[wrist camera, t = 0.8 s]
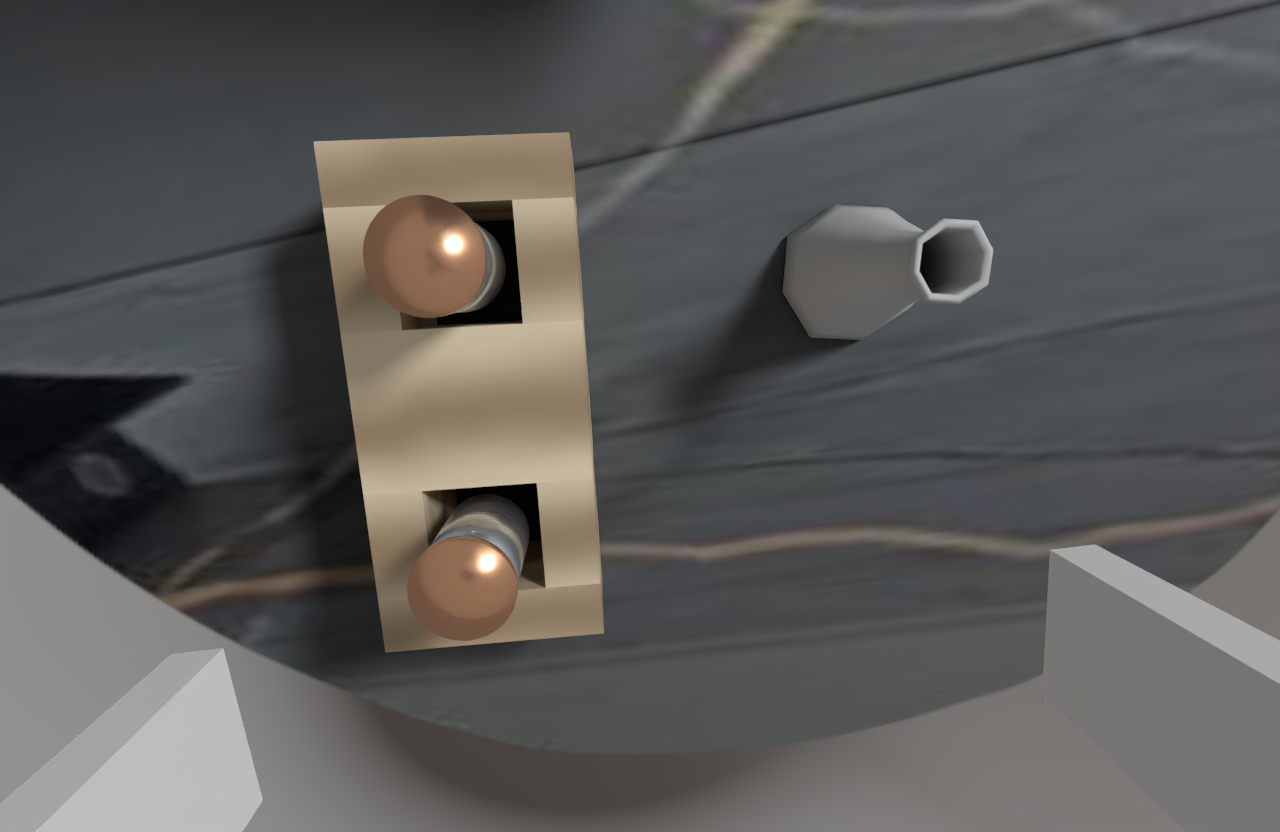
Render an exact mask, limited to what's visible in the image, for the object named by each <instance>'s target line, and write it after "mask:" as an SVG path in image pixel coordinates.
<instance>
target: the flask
mask: <svg viewBox="0 0 1280 832" xmlns="http://www.w3.org/2000/svg"><path fill="white" fill-rule="evenodd" d="M992 255H993V249H992V247H991V245H990V243H989V241H988V239H987V237H986V235H985V233H984V231H983V229H982V228H981V226H980V224H979V222H978V221H974V220H958V219H941V220H940V221H939V222H937V223H936V224H934V225H933V226H931V227H930V228H928V229H927V230H925V231H923V230H921V229H919V228H917V227H916V226H914V225H912V224H910V223H909V222H907V221H905V220H904V219H903V218H901V217H900V216H899V215H897V214H896V213H895V212H893V211H892V210H890V209H889V208H883V207H868V206H853V205H838V204H833V205H832V206H831V207H829V208H828V209H826V210H825V211H823V212H822V213H820V214H819V215H817V216H816V217H814V218H813V219H812V220H810V221H809V222H807V223H806V224H804V225H803V226H801V227H800V228H798V229H797V230H795V231H794V232H793V233H791V234H790V235H788V236H787V247H786V258H785V270H784V281H783V294H784V296H785V297H786V299H787V301H788V302H789V304H790V306H791V307H792V309H793V310H794V312H795V314H796V315H797V317H798V319H799V320H800V322H801V324H802V325H803V327H804V329H805V330H806V332H807V333H808V335H809V337H810V338H828V339H849V340H863V339H864V338H866V337H867V336H869V335H870V334H872V333H873V332H875V331H876V330H878V329H879V328H880V327H882V326H883V325H885V324H886V323H888V322H889V321H891V320H892V319H894V318H895V317H897V316H898V315H900V314H901V313H903V312H904V311H906V310H907V309H908V308H910V307H911V306H912V305H913V304H914V303H915V302H917V301H920V300H922V301H924V302H934V303H953V304H959V303H961V302H963V301H964V300H966V299H967V298H969V297H970V296H972V295H973V294H975V293H976V292H978V291H979V290H981V289H982V288H984V287H985V286H987V285H988V283H989V276H990V269H991V262H992Z"/></svg>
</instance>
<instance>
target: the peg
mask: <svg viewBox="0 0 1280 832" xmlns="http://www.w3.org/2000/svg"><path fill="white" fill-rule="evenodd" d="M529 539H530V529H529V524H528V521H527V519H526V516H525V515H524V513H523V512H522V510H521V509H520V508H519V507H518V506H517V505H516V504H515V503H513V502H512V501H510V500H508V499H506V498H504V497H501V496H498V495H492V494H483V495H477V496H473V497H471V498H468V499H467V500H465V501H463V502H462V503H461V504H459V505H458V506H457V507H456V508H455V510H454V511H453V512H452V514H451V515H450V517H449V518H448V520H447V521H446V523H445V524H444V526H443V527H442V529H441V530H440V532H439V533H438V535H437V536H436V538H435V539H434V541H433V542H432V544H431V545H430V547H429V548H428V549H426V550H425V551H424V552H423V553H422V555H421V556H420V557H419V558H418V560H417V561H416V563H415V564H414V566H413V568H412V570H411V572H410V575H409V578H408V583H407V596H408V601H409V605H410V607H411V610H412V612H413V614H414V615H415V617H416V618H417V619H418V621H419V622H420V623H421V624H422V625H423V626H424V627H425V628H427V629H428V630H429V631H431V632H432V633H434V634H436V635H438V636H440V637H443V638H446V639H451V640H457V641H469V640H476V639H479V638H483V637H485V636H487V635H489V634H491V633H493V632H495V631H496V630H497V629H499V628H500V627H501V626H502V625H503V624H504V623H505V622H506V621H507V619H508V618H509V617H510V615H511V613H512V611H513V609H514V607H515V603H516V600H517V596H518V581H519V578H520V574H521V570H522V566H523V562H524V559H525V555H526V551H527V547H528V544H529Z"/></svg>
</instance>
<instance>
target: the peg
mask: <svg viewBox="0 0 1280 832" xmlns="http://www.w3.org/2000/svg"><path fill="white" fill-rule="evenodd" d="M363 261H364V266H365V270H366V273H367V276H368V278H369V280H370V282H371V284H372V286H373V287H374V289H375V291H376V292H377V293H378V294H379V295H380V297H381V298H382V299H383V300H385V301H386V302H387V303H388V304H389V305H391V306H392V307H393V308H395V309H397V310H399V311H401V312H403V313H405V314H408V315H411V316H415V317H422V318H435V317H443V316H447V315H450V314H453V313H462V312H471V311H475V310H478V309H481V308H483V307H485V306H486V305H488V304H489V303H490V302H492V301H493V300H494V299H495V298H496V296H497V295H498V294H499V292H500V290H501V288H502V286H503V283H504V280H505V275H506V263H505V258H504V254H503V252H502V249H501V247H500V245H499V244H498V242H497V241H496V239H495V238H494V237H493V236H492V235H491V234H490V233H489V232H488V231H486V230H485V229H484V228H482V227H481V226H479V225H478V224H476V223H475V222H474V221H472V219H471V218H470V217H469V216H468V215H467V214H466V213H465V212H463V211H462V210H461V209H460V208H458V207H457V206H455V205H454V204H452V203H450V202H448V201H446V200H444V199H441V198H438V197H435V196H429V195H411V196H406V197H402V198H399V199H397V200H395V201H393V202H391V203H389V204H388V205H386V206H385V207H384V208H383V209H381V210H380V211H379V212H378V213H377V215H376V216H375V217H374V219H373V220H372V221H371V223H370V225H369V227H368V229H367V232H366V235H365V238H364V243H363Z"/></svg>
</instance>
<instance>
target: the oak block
mask: <svg viewBox="0 0 1280 832" xmlns="http://www.w3.org/2000/svg"><path fill="white" fill-rule="evenodd" d="M314 149H315V156H316V163H317V170H318V177H319V185H320V192H321V199H322V206H323V213H324V220H325V227H326V234H327V241H328V248H329V256H330V263H331V270H332V277H333V284H334V291H335V298H336V305H337V312H338V320H339V327H340V334H341V341H342V348H343V355H344V362H345V369H346V376H347V383H348V391H349V398H350V405H351V412H352V419H353V426H354V433H355V440H356V447H357V454H358V462H359V469H360V476H361V483H362V490H363V497H364V504H365V511H366V518H367V526H368V533H369V540H370V547H371V554H372V561H373V568H374V575H375V582H376V589H377V597H378V604H379V611H380V618H381V625H382V632H383V639H384V646H385V653H386V652H397V651H408V650H420V649H431V648H442V647H454V646H465V645H476V644H488V643H499V642H510V641H522V640H533V639H544V638H556V637H567V636H578V635H589V634H601V633H604V624H603V596H602V572H601V558H600V543H599V529H598V514H597V500H596V485H595V470H594V456H593V441H592V427H591V412H590V398H589V383H588V369H587V354H586V339H585V325H584V310H583V296H582V281H581V267H580V252H579V238H578V223H577V209H576V194H575V179H574V165H573V157H572V150H571V143H570V135H569V132H564V133H537V134H509V135H481V136H454V137H426V138H398V139H370V140H343V141H315V142H314ZM411 195H429V196H435V197H438V198H441V199H444V200H446V201H448V202H450V203H452V204H454V205H455V206H457V207H458V208H460V209H461V210H462V211H463V212H465V213H466V214H467V215H468V216H469V217H470V218H471V219H472V221H474V222H476V221H498V220H514V228H515V239H516V251H517V262H518V274H519V285H520V297H521V308H522V321H503V322H485V323H467V324H449V325H437V318H436V317H435V318H422V317H415V316H411V315H408V314H405V313H403V312H401V311H399V310H397V309H395V308H393V307H392V306H391V305H389V304H388V303H387V302H386V301H385V300H383V299H382V298H381V297H380V295H379V294H378V293H377V292H376V291H375V289H374V287H373V286H372V284H371V282H370V280H369V278H368V276H367V273H366V270H365V266H364V261H363V243H364V238H365V235H366V232H367V229H368V227H369V225H370V223H371V221H372V220H373V219H374V217H375V216H376V215H377V213H378V212H379V211H380V210H381V209H383V208H384V207H385V206H386V205H388V204H389V203H391V202H393V201H395V200H397V199H399V198H402V197H406V196H411ZM530 483H537V493H538V504H539V516H540V527H541V539H542V540H534V541H529V544H528V547H527V551H526V555H525V559H524V562H523V566H522V570H521V574H520V578H519V581H518V596H517V600H516V603H515V607H514V609H513V611H512V613H511V615H510V617H509V618H508V619H507V621H506V622H505V623H504V624H503V625H502V626H501V627H500V628H499V629H497V630H496V631H495V632H493V633H491V634H489V635H487V636H485V637H483V638H479V639H476V640H469V641H457V640H451V639H446V638H443V637H440V636H438V635H436V634H434V633H432V632H431V631H429V630H428V629H427V628H425V627H424V626H423V625H422V624H421V623H420V622H419V621H418V619H417V618H416V617H415V615H414V614H413V612H412V610H411V607H410V605H409V601H408V596H407V583H408V578H409V575H410V572H411V570H412V568H413V566H414V564H415V563H416V561H417V560H418V558H419V557H420V556H421V555H422V553H423V552H424V551H425V550H426V549H428V548H429V547H430V545H431V544H432V542H433V541H434V539H435V538H436V536H437V535H438V533H439V532H440V530H441V529H442V527H443V526H444V524H445V523H446V521H447V520H448V518H449V517H450V515H451V514H452V512H453V511H454V510H455V508H456V507H457V497H456V489H461V488H474V487H488V486H502V485H516V484H530Z"/></svg>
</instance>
